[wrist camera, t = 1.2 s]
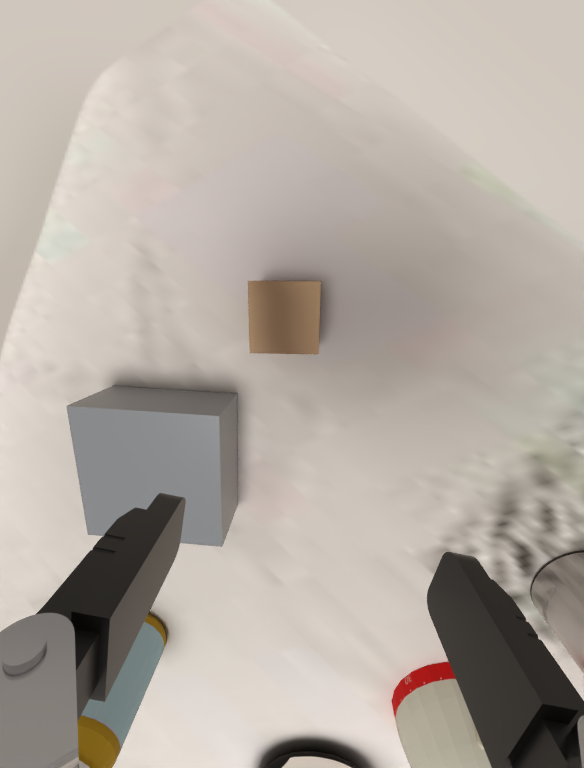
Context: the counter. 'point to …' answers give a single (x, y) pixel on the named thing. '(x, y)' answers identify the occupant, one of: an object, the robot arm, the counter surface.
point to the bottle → (120, 700)
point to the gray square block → (158, 456)
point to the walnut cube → (284, 316)
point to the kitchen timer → (436, 721)
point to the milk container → (309, 761)
